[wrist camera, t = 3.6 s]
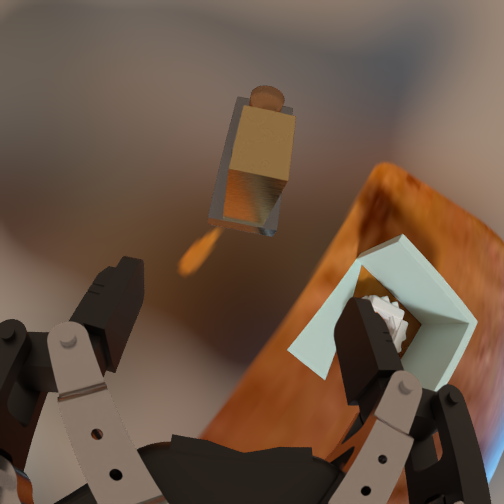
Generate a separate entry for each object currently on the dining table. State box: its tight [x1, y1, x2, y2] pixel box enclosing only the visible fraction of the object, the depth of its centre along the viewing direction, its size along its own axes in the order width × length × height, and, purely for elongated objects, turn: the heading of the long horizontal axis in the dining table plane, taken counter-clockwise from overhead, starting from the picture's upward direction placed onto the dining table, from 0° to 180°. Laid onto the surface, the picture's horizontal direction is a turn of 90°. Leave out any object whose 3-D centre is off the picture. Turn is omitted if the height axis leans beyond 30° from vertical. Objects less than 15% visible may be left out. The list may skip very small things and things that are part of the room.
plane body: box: [208, 86, 293, 236], centre depth 26 cm, size 14×6×5 cm, turn 171°
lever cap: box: [223, 105, 296, 226], centre depth 22 cm, size 5×4×9 cm
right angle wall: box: [287, 234, 478, 392], centre depth 23 cm, size 12×12×8 cm
